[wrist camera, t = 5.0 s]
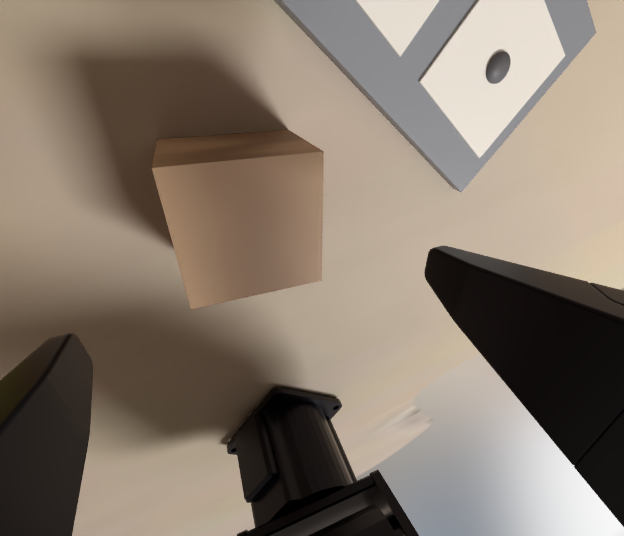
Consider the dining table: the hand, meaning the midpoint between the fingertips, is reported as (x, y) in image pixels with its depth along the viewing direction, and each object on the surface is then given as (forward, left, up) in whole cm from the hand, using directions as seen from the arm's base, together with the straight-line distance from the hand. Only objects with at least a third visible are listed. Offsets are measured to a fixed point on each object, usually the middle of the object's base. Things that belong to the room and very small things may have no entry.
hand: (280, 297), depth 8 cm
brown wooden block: (0, 0, -7) cm, 7 cm away
